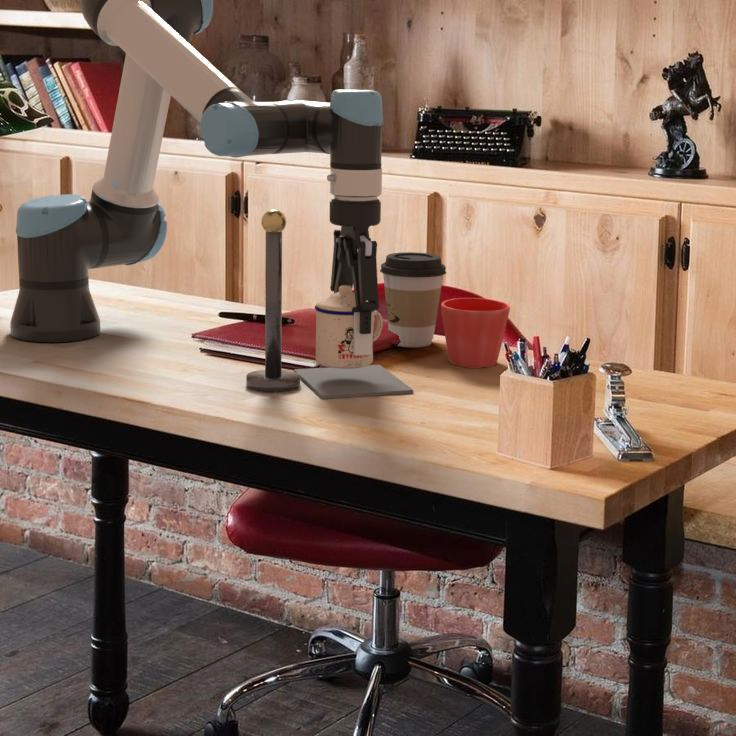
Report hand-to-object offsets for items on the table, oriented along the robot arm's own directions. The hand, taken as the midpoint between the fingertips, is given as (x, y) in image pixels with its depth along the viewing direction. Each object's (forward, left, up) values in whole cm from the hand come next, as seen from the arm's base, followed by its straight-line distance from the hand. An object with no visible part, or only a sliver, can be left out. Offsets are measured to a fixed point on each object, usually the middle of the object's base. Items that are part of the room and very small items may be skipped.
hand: (352, 347), depth 201 cm
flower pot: (-8, +23, -6) cm, 25 cm away
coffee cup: (-24, +18, -6) cm, 31 cm away
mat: (0, 0, -5) cm, 5 cm away
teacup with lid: (-1, 0, -2) cm, 3 cm away
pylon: (-1, -12, -5) cm, 13 cm away
